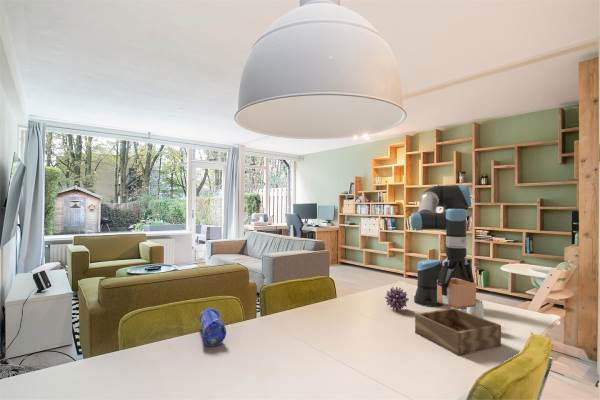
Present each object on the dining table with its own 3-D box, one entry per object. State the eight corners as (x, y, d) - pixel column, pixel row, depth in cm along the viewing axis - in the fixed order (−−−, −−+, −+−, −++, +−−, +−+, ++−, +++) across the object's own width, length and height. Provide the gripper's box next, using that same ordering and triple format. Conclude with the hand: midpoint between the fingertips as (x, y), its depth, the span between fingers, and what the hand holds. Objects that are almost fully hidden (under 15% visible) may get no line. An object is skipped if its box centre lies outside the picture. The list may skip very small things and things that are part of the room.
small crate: (455, 299, 136) (455, 277, 137) (475, 306, 127) (475, 283, 127) (437, 301, 133) (437, 279, 133) (457, 309, 123) (457, 285, 124)
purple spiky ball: (379, 308, 168) (379, 285, 168) (397, 305, 173) (397, 283, 173) (395, 315, 158) (395, 290, 158) (413, 311, 163) (413, 288, 163)
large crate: (454, 325, 144) (454, 307, 144) (500, 346, 124) (500, 325, 124) (415, 332, 136) (415, 313, 136) (458, 355, 116) (458, 333, 116)
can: (466, 328, 141) (466, 301, 141) (466, 324, 147) (466, 297, 147) (483, 331, 138) (483, 303, 138) (483, 326, 144) (483, 299, 144)
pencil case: (226, 346, 122) (227, 321, 122) (203, 350, 119) (203, 324, 119) (218, 325, 143) (219, 304, 143) (198, 328, 140) (198, 306, 140)
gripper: (442, 249, 123) (441, 307, 122) (484, 246, 131) (484, 301, 131) (427, 246, 130) (427, 302, 129) (468, 244, 138) (468, 296, 138)
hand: (456, 302), depth 130 cm, fingers closed on small crate, 10 cm apart
